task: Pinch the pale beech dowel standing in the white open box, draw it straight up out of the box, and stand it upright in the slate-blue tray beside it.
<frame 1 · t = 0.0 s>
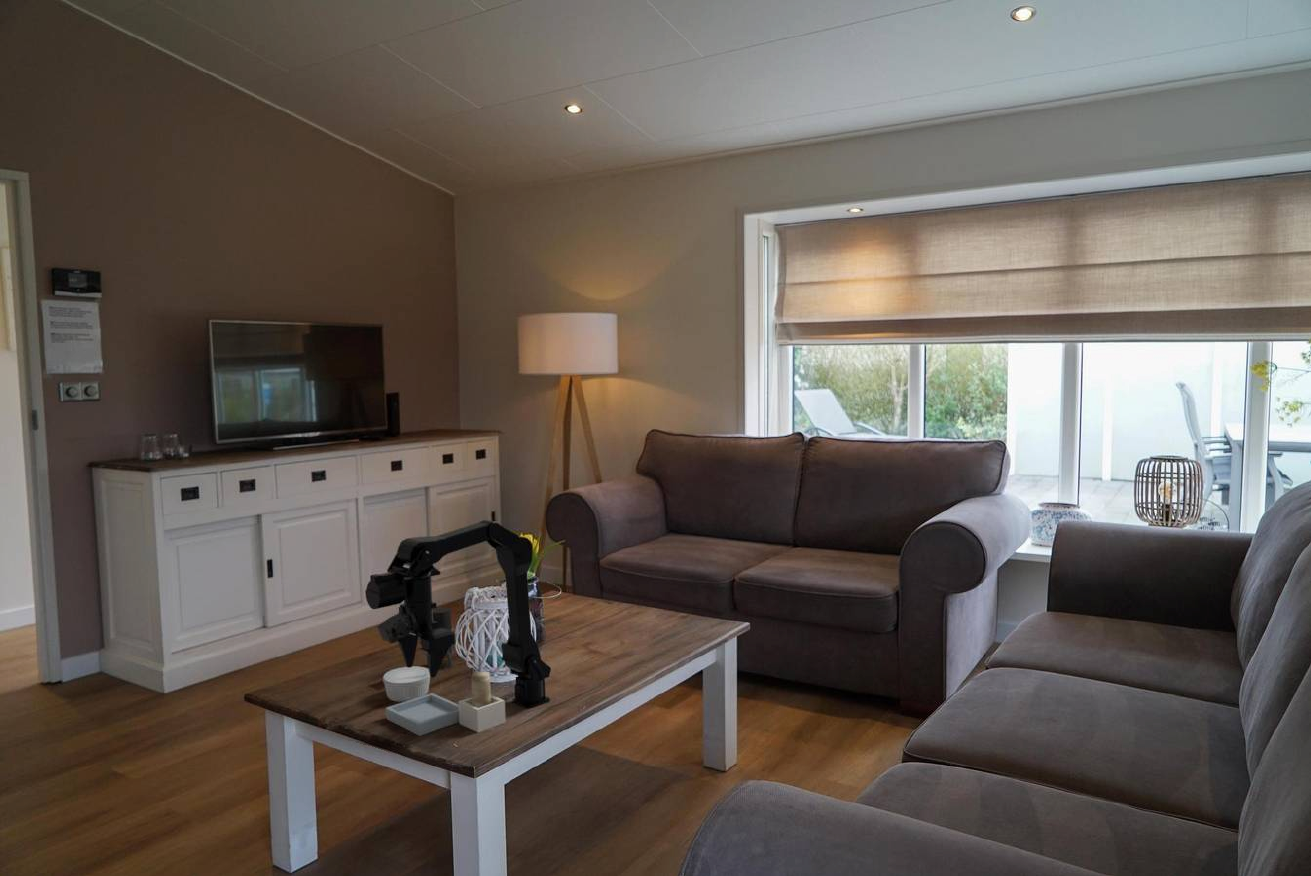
hand: (421, 672, 188), 15 cm above the table, tool pointing down, fingers open, 9 cm apart
white open box: (482, 723, 197), on the table
deodorant: (441, 666, 236), on the table
slate tray: (426, 718, 200), on the table
beech dowel: (481, 698, 197), in the white open box
ramekin: (407, 696, 216), on the table
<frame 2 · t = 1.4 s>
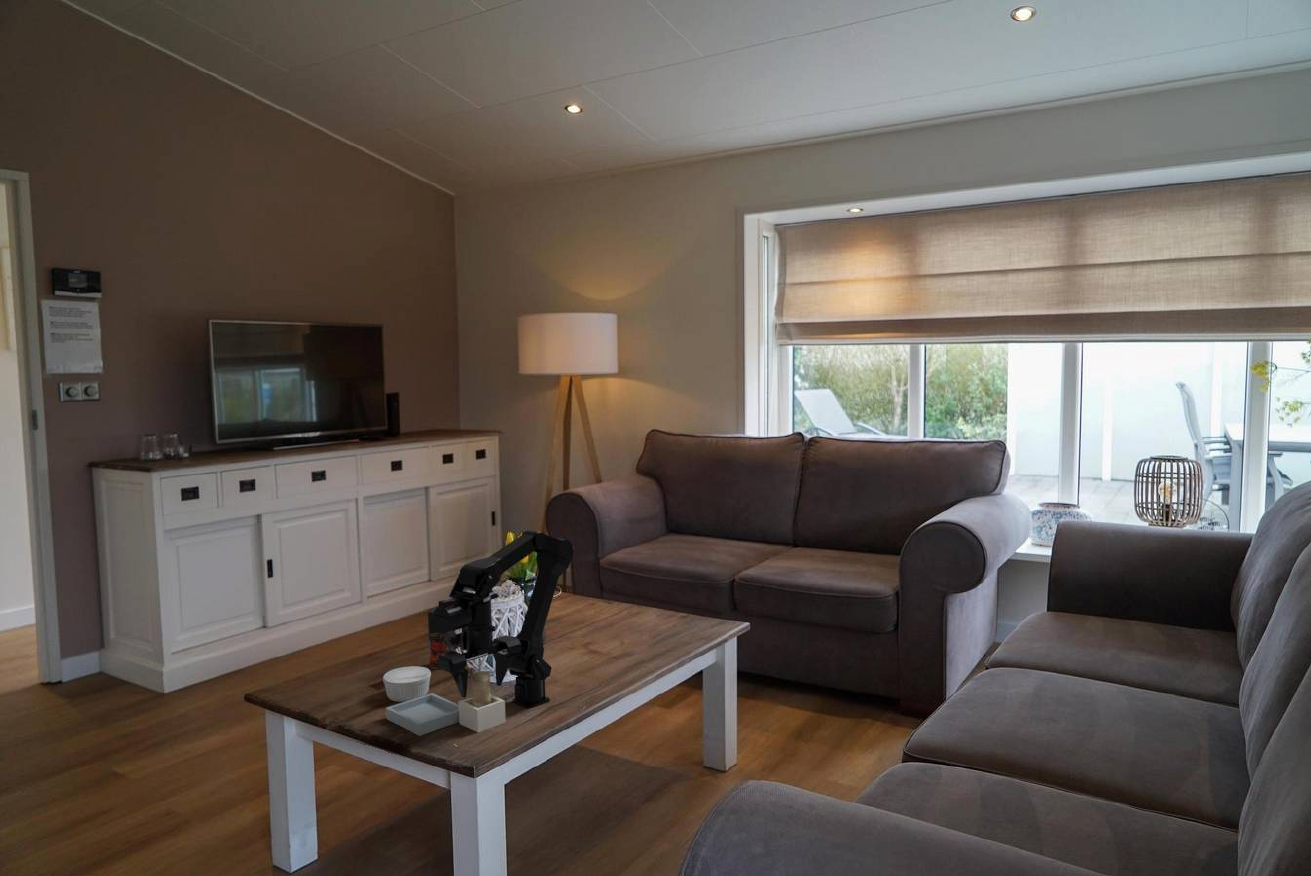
hand: (481, 691, 197), 7 cm above the table, tool pointing down, fingers open, 9 cm apart
nothing on the table moved.
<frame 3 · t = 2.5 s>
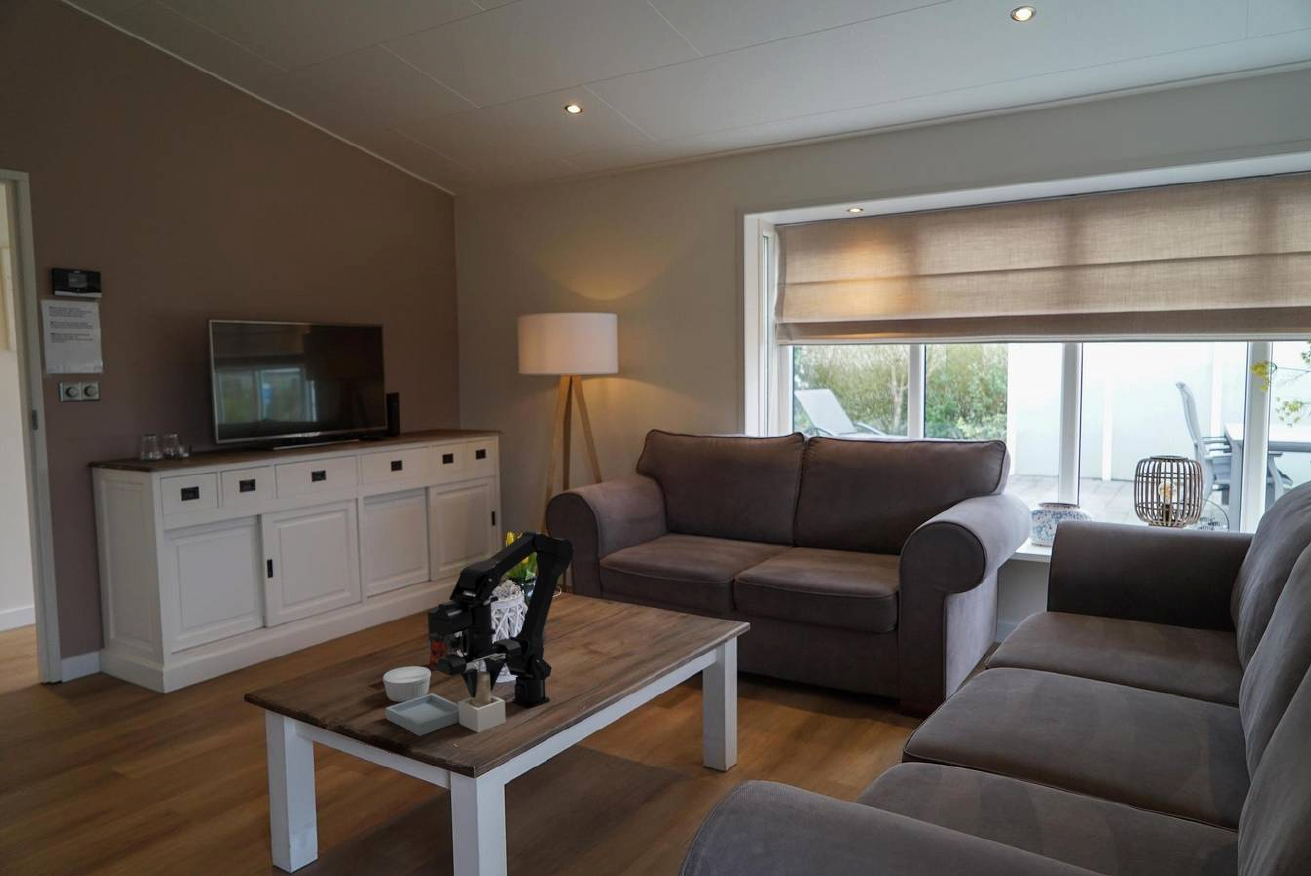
hand: (481, 694, 197), 7 cm above the table, tool pointing down, fingers closed on beech dowel, 4 cm apart
beech dowel: (481, 698, 197), in the white open box, touching gripper
everything else where it was.
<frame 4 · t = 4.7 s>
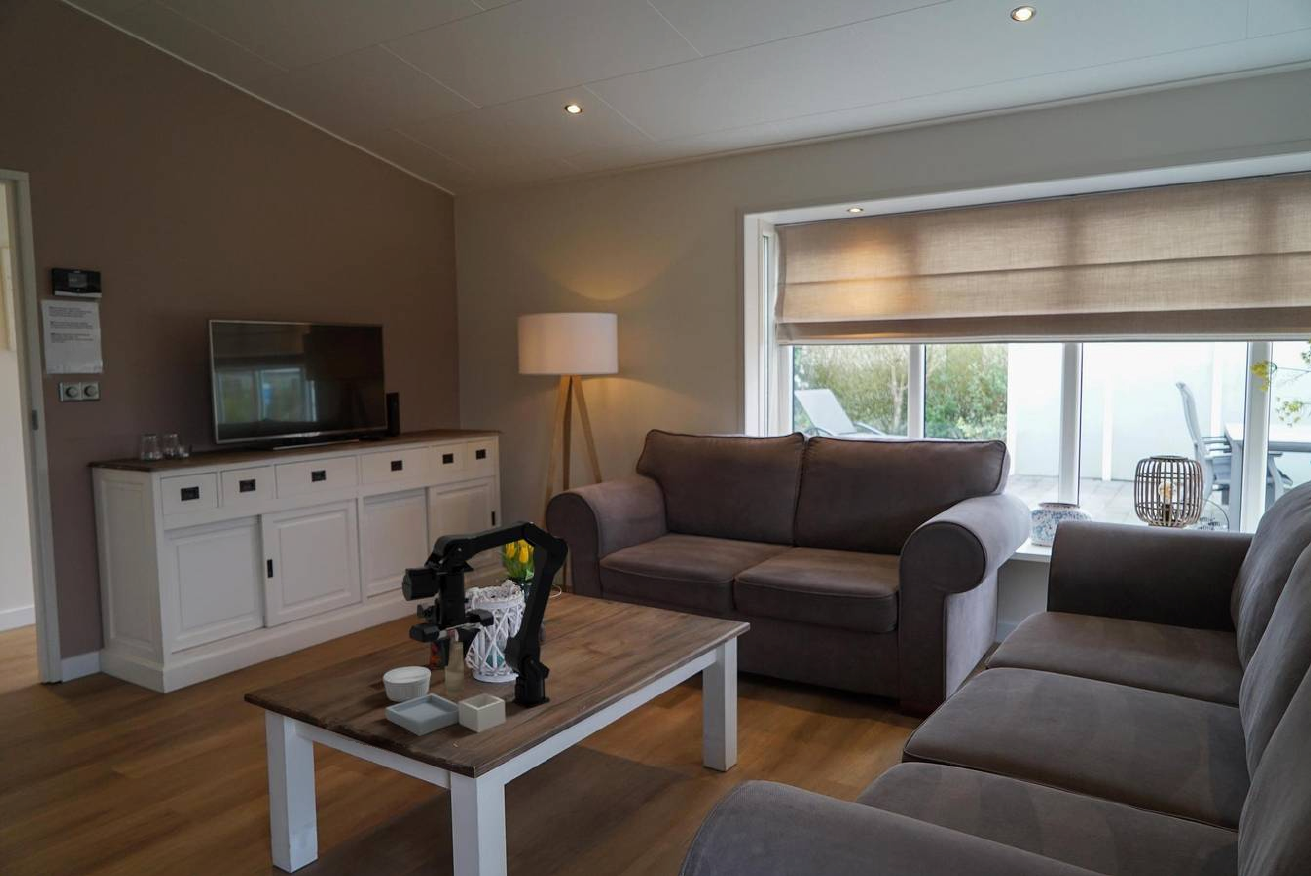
hand: (453, 663, 197), 13 cm above the table, tool pointing down, fingers closed on beech dowel, 4 cm apart
beech dowel: (454, 667, 197), point 12 cm above the table, touching gripper
everything else where it was.
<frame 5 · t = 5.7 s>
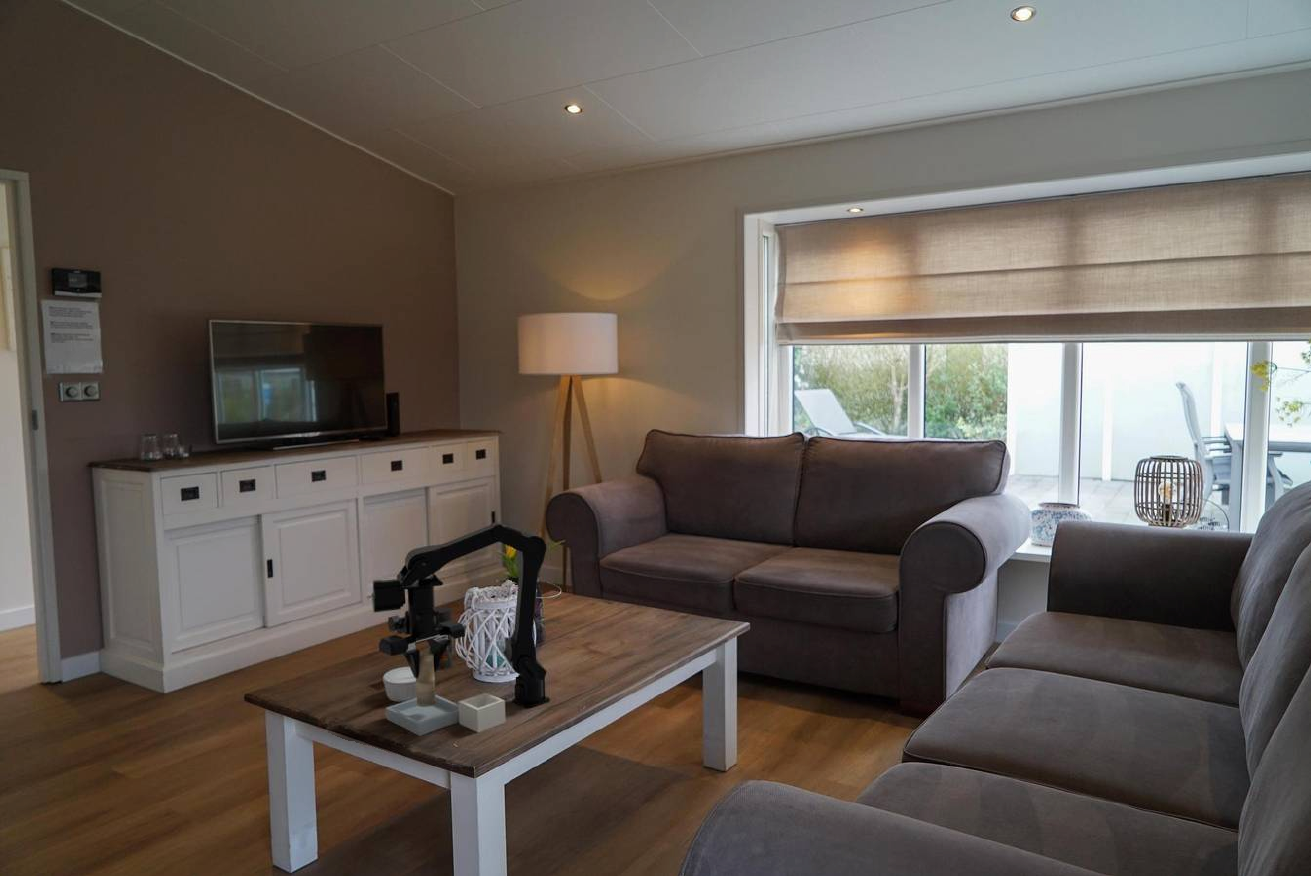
hand: (424, 675, 200), 10 cm above the table, tool pointing down, fingers closed on beech dowel, 4 cm apart
beech dowel: (425, 679, 200), point 9 cm above the table, touching gripper
everything else where it was.
when the fingers open (9 cm above the table, at t = 6.7 s): beech dowel stays where it is, resting on slate tray.
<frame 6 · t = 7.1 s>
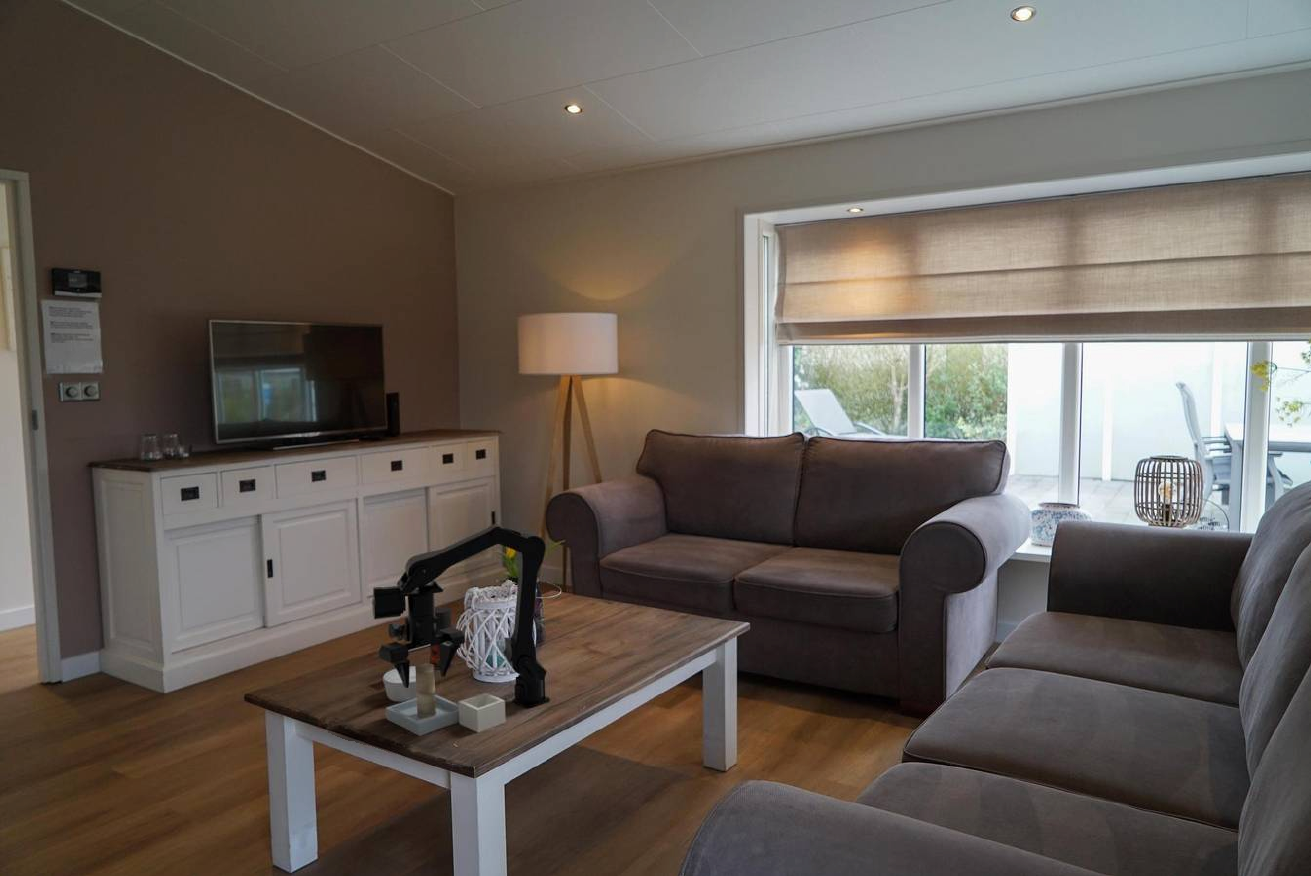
hand: (424, 681, 200), 9 cm above the table, tool pointing down, fingers open, 9 cm apart
beech dowel: (425, 690, 200), in the slate tray, point 6 cm above the table
everything else where it was.
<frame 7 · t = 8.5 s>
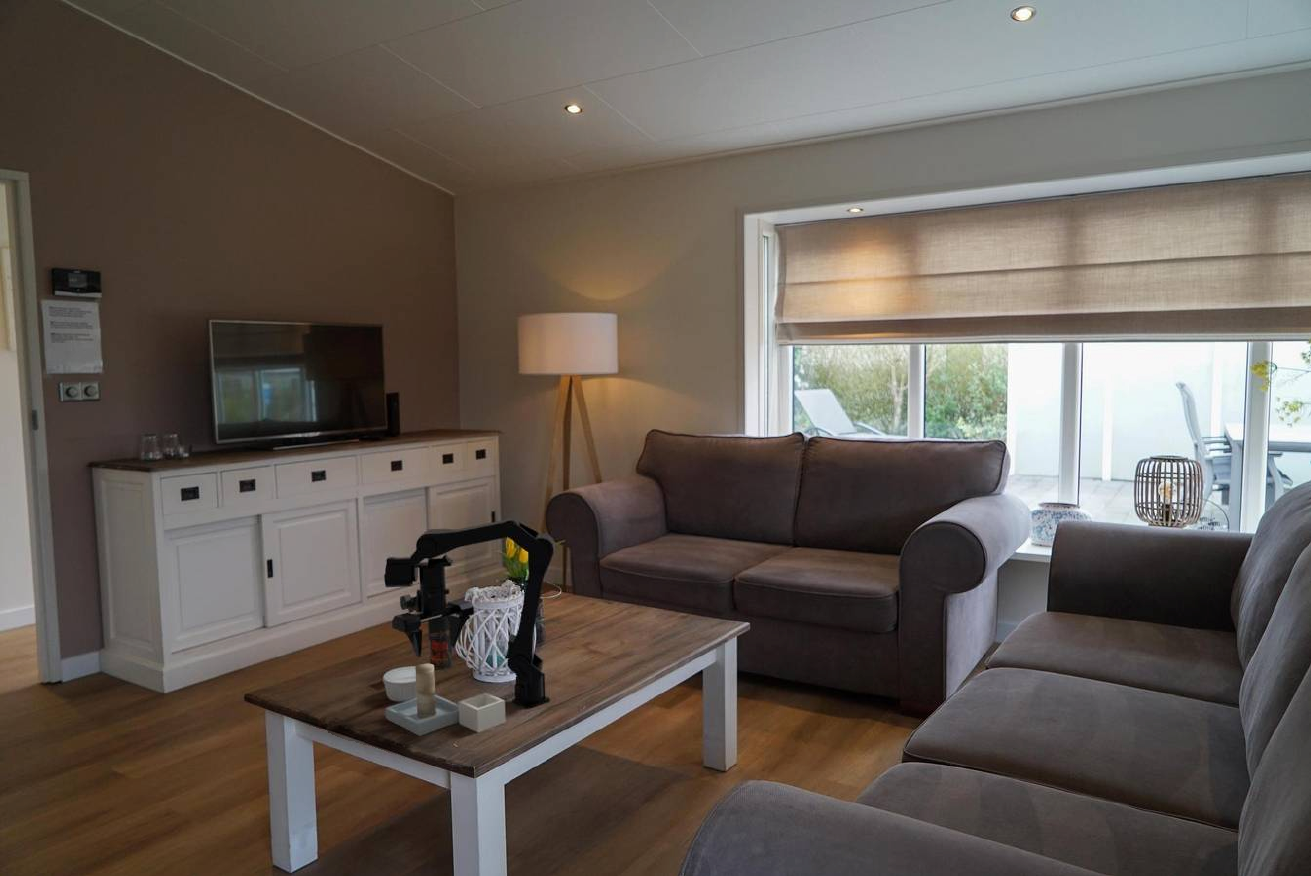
hand: (435, 651, 207), 13 cm above the table, tool pointing down, fingers open, 9 cm apart
nothing on the table moved.
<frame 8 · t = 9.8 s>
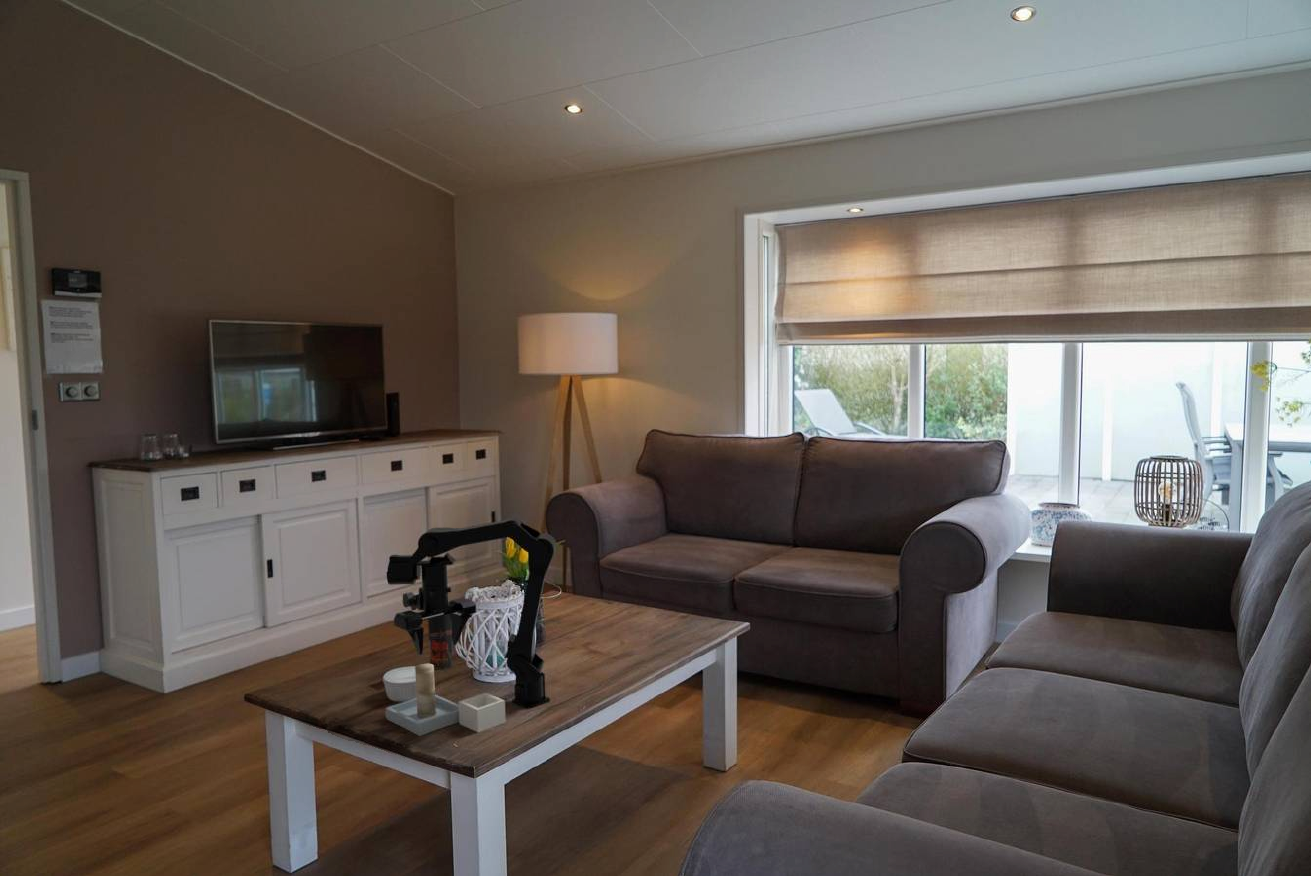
hand: (437, 649, 208), 13 cm above the table, tool pointing down, fingers open, 9 cm apart
nothing on the table moved.
at the end: beech dowel inside the target area on the slate tray (0.1 cm from its centre), point 6.5 cm above the slate tray's base; beech dowel tilted 0°; the gripper is holding nothing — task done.
